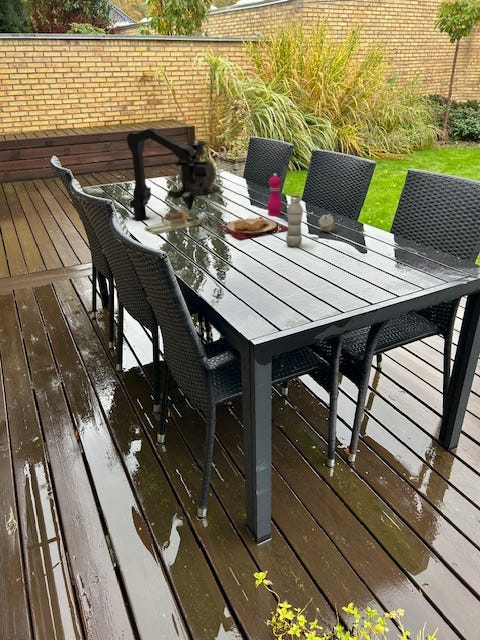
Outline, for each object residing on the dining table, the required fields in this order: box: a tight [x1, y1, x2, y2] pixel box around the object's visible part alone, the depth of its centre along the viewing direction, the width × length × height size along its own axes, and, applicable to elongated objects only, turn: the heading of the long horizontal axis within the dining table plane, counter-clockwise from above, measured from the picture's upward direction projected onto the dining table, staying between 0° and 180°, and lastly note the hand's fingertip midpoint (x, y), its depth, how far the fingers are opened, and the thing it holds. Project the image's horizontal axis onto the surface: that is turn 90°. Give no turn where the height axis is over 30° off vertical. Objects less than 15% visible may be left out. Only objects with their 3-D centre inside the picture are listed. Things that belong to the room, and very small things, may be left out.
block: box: [165, 211, 179, 222], centre depth 223 cm, size 4×4×4 cm
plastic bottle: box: [285, 195, 304, 247], centre depth 195 cm, size 6×7×20 cm
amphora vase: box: [178, 140, 217, 196], centre depth 279 cm, size 22×22×28 cm
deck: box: [144, 216, 201, 235], centre depth 224 cm, size 9×24×4 cm, turn 129°
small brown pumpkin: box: [315, 212, 338, 233], centre depth 213 cm, size 9×8×10 cm
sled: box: [163, 210, 187, 226], centre depth 224 cm, size 6×9×4 cm, turn 129°
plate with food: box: [218, 216, 288, 240], centre depth 221 cm, size 25×26×4 cm
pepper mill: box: [266, 173, 283, 217], centre depth 237 cm, size 7×7×20 cm
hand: (189, 209), depth 227 cm, fingers closed
